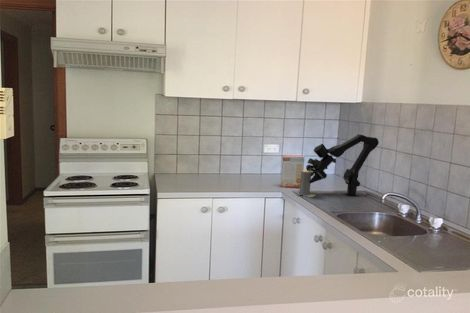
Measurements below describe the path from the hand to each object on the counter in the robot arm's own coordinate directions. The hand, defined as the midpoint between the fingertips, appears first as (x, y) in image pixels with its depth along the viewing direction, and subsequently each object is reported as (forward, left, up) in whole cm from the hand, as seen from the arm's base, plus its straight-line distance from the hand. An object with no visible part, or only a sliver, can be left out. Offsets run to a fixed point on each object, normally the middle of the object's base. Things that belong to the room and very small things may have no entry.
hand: (306, 181), depth 255 cm
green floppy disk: (0, +1, -9) cm, 9 cm away
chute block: (0, -1, -8) cm, 8 cm away
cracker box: (-18, -17, -9) cm, 26 cm away
